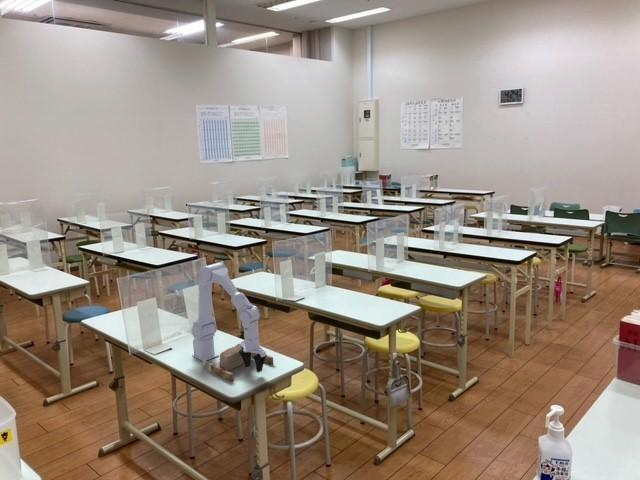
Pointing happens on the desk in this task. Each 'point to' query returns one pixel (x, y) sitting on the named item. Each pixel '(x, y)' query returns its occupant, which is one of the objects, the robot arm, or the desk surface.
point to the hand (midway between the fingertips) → (253, 368)
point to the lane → (225, 373)
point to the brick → (231, 358)
